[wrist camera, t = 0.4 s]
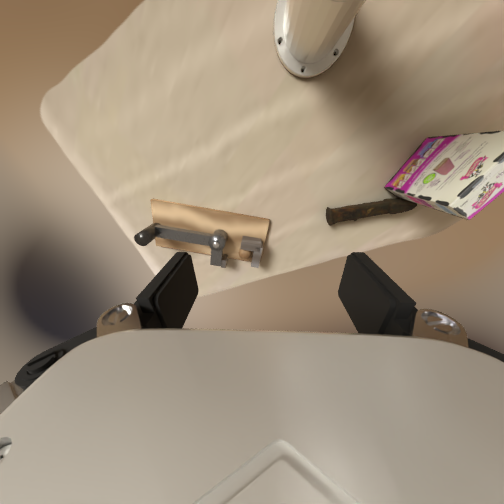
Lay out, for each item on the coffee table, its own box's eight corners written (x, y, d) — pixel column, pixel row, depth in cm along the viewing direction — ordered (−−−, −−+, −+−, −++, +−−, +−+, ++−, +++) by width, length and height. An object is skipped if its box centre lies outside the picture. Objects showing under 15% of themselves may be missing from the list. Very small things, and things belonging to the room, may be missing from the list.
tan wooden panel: (153, 198, 45) (140, 203, 40) (269, 219, 46) (270, 226, 41) (158, 243, 51) (148, 252, 47) (260, 260, 52) (259, 271, 48)
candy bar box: (398, 198, 41) (469, 222, 27) (382, 187, 41) (447, 207, 26) (444, 149, 36) (561, 147, 22) (427, 135, 35) (538, 125, 21)
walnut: (240, 242, 48) (238, 249, 45) (253, 245, 48) (252, 251, 45) (238, 254, 50) (237, 260, 47) (251, 256, 50) (250, 263, 47)
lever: (153, 217, 46) (132, 230, 38) (230, 231, 46) (224, 246, 39) (157, 250, 51) (139, 266, 43) (227, 261, 51) (221, 280, 44)
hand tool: (324, 221, 46) (330, 228, 42) (324, 206, 44) (331, 212, 40) (405, 210, 43) (419, 217, 39) (409, 194, 41) (425, 198, 37)
